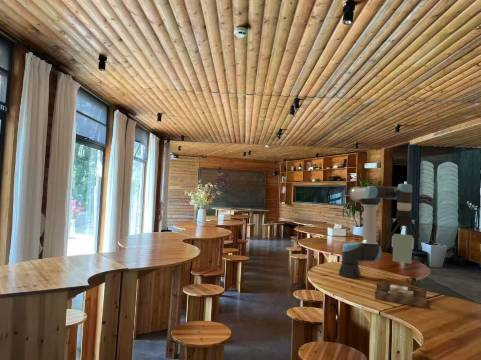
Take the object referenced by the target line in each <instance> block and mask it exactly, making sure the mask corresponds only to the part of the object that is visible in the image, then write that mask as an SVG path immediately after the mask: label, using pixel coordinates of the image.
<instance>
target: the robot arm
mask: <svg viewBox="0 0 481 360" xmlns="http://www.w3.org/2000/svg"><path fill="white" fill-rule="evenodd" d="M347 195H348V198H349V199H350V200H351V201H353V202H357V203H361V206H362V207H363V229H362V230H363V238H362V239H363V240H361V242H356V241H355V242H351V241H350V242H346V243H343V244H342V249H341V265H340V267H339V269H338V275H339V276H341V277H342V278H349V279H359V278H361V275H362V274H361V270H360V266H359V263H360V262H367V263H368V262H370V263H374V262H375V263H377V262H378V261H379V260H380V259H381V257H382V247H381V246H380V245H379V243H378V242H377V208H378V207H379V205H380V204H381V202H382V201H383V199H384V200H385V199H386V200H397V203H396V209H397V210H396V218H390V223H389V226H388V229H387V232H386V235H388V236H389V242H391V248H393V238H394V234H395V232H396V230H397V229H398V228H399V227H407V228H408V231H410V233H411V235H413V237H412V250H414V245H416V244H417V238H420V232H419V229H418V226H417V222H418V221H417V219H412V199H413V196H412V195H413V185H412V184H410V183H399V184H397V186H381V185H380V186H379V185H367V186H365V185H364V186H362V185H361V186H360V185H359V186H358V185H357V186H352V187H351V188H350V189H348V194H347ZM395 221H396V223H397V224H396V226H395V227H394V228H393V230H392V227H393V224H394V222H395ZM411 223H412V224H413V225H414V229H415V232H414V231H413V228H412V227H411V225H410V224H411ZM391 230H392V231H391Z"/></svg>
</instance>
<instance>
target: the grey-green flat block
mask: <svg viewBox="0 0 481 360" xmlns="http://www.w3.org/2000/svg"><path fill="white" fill-rule="evenodd" d="M393 236H394V238H393V247H392V262H396V263H404V264H411V265H412V256H413V255H412V254H413V249H412V238H414V237H413V235H412V234H402V233H394V234H393Z"/></svg>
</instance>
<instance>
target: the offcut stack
mask: <svg viewBox="0 0 481 360" xmlns="http://www.w3.org/2000/svg"><path fill="white" fill-rule="evenodd" d="M388 293H394V294H400V295H406V296H412V297H413V291H408V287H404V286H397V285H391V284H390V291H388Z"/></svg>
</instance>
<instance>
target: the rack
mask: <svg viewBox="0 0 481 360" xmlns="http://www.w3.org/2000/svg"><path fill="white" fill-rule="evenodd" d="M390 284H391V285H397V286H404V287H408V291H413V297H412V296H406V295H400V294H394V293H388V291H390ZM374 299H375V300H380V301H385V302H386V301H387V302H391V303H397V304H401V303H402V305H408V306H412V307H418V308H419V307H420V308H425V309H427V307H428V298H427V288H423V287H417V286H416V287H415V286H410V285H404V284H396V283H389V282H384V281H378V280H377V283H376V290H375V292H374Z"/></svg>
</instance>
